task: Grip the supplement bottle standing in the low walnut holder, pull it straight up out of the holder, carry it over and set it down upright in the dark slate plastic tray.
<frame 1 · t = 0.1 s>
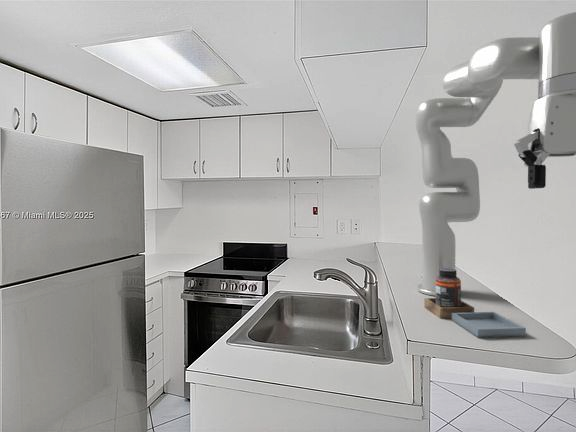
hand: (562, 187, 59), 31 cm above the table, fingers open, 9 cm apart
supplement bottle: (448, 312, 86), resting in holder
tray: (486, 327, 75), on the table
holder: (448, 312, 86), on the table
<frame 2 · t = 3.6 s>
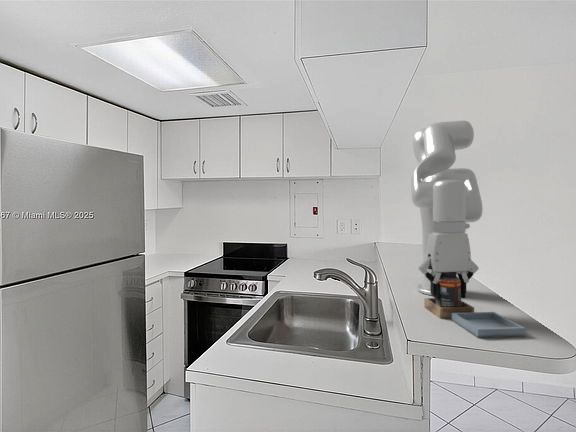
hand: (448, 296, 86), 4 cm above the table, fingers closed on supplement bottle, 6 cm apart
supplement bottle: (448, 312, 86), resting in holder, touching gripper
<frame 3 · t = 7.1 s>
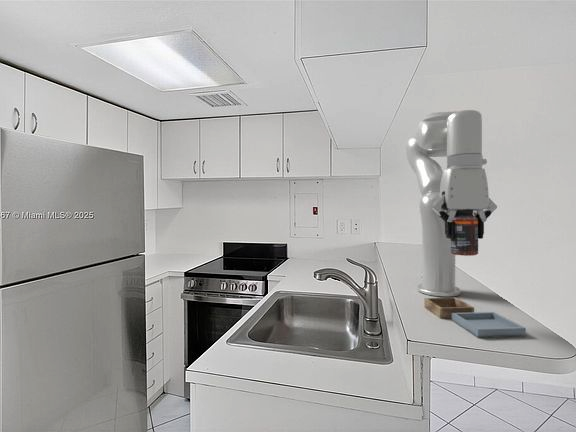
hand: (464, 237, 80), 20 cm above the table, fingers closed on supplement bottle, 6 cm apart
supplement bottle: (464, 255, 80), point 16 cm above the table, touching gripper
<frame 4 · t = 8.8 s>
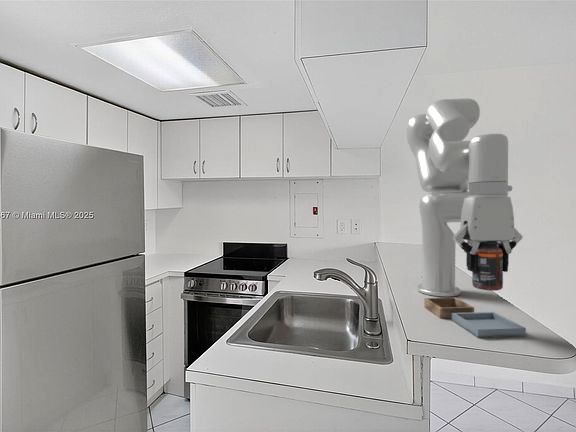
hand: (487, 270, 75), 13 cm above the table, fingers closed on supplement bottle, 6 cm apart
supplement bottle: (487, 288, 75), point 9 cm above the table, touching gripper
when the fingers open (6 cm above the table, at t = 10.5 s): supplement bottle drops 1 cm, resting on tray.
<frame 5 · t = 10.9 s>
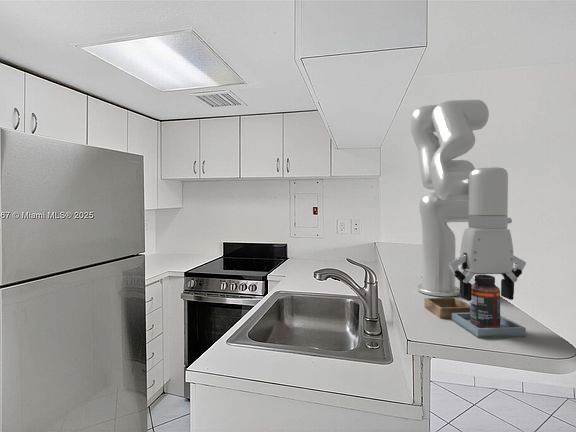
hand: (486, 298, 75), 7 cm above the table, fingers open, 9 cm apart
supplement bottle: (484, 326, 75), resting on tray
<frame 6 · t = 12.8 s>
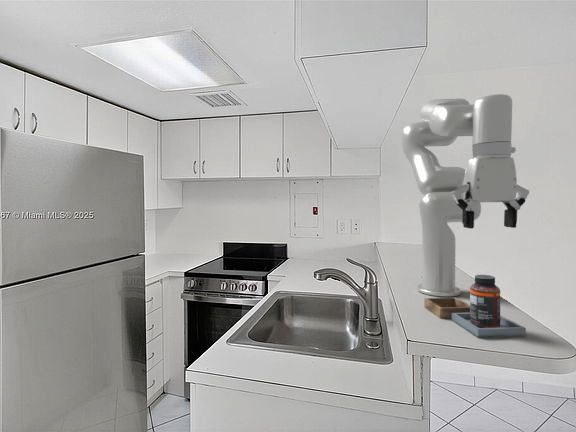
hand: (489, 227, 76), 23 cm above the table, fingers open, 9 cm apart
nothing on the table moved.
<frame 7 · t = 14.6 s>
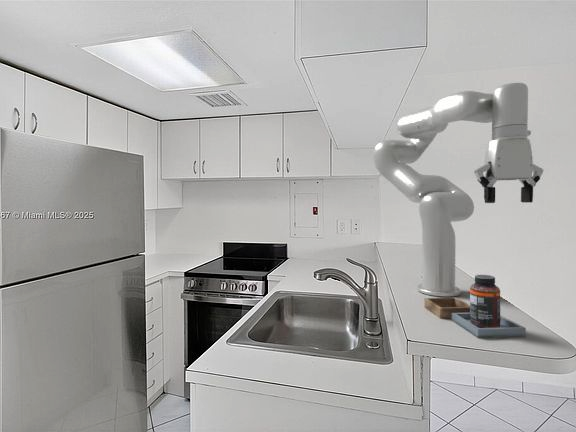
hand: (508, 202, 84), 28 cm above the table, fingers open, 9 cm apart
nothing on the table moved.
at the end: supplement bottle 0.3 cm off-centre on the tray, point 0.3 cm above the tray's base; supplement bottle tilted 0°; the gripper is holding nothing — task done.
